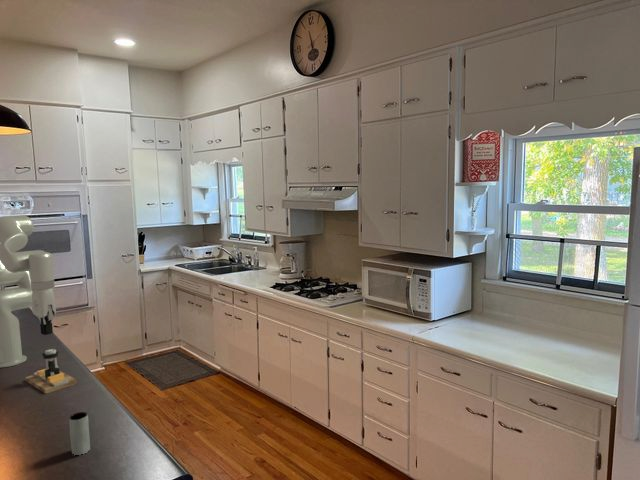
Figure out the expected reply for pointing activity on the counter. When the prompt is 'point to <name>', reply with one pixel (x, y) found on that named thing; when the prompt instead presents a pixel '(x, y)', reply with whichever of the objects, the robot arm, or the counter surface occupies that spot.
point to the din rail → (54, 383)
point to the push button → (51, 363)
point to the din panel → (46, 386)
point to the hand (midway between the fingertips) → (47, 333)
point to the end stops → (51, 378)
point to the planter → (79, 433)
